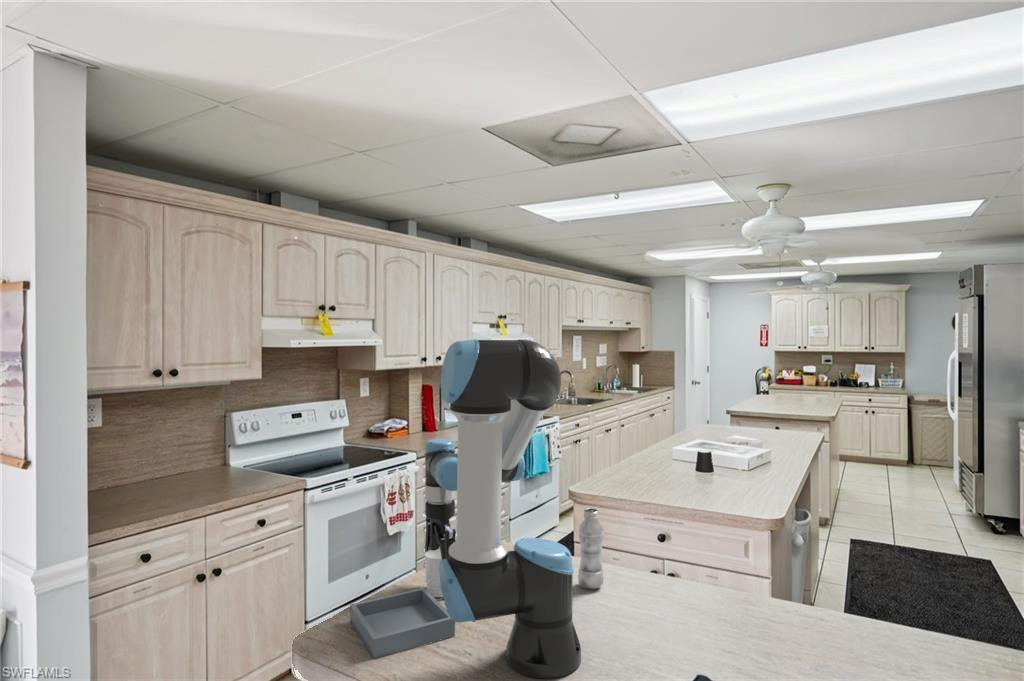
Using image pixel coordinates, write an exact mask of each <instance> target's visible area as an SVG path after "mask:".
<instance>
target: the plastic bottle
mask: <svg viewBox="0 0 1024 681" xmlns="http://www.w3.org/2000/svg"><path fill="white" fill-rule="evenodd" d="M604 535H605V530H604V527H603V525H602V524H601V522H600V521H599V510H598V509H596V508H585V509H583V521H582V522H581V523H580V526H579V527H578V537H579V545H580V547H579V548H580V560H579V569H578V573H577V579H578V583H579V586H580V587H582V588H583V589H587V590H597V589H599V588H601V587H602V586H603V584H604V578H605V576H604V570H603V560H602V551H603V541H604V540H603V539H604Z"/></svg>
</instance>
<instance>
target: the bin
mask: <svg viewBox="0 0 1024 681" xmlns="http://www.w3.org/2000/svg"><path fill="white" fill-rule="evenodd" d="M349 611H350V612H349V616H350V617H349V620H350V621H349V622H350V624H351V625H352V627H353V629H354V630H355V632H356V633H357V635H358V636H359V638H360V640H361V641H362V643H363V644H364V646H365V647H366V649H367V651H368V652H369V654H370V656H371V658H372V659H373V660H376V659H380V658H382V657H386V656H390V655H392V654H393V655H394V654H397V653H401V652H404V651H408V650H411V649H414V647H415V648H418V647H417V646H419V647H421V645H422V646H425V645H424V644H426V645H428V644H427V643H429V644H431V643H430V642H433V643H435V642H434V641H436V642H439V641H438V640H440V639H443V640H446V639H445V638H447V639H449V638H448V637H450V638H452V637H451V636H454V637H456V633H455V632H456V629H455V628H456V622H455V621H453V620H452V619H451V618H450V616H449V614H448V611H447V609H446V607H444V605H443V604H441V603H440V602H439V601H438V600H437V599H436V597H433V596H432V595H431V594H430V593H429V592H428V591H427V588H425V587H420V588H415V589H412V590H407V591H402V592H399V593H395V594H390V595H389V594H388V595H385V596H381V597H377V598H373V599H368V600H364V601H363V600H362V601H359V602H355V603H350V605H349ZM440 641H441V640H440ZM403 650H404V651H403ZM400 651H401V652H400Z"/></svg>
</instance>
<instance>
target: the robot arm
mask: <svg viewBox="0 0 1024 681" xmlns="http://www.w3.org/2000/svg"><path fill="white" fill-rule="evenodd" d="M440 374H441V375H440V387H441V388H440V394H441V398H442V401H443V402H444V403H447V404H449V412H451V414H453V416H455V418H456V420H457V454H456V446H455V442H454V440H452V439H450V438H432V439H429V440H427V441H426V442H425V447H424V448H425V449H424V470H425V473H424V474H425V475H424V476H425V477H424V478H425V481H424V482H425V484H424V500H425V501H426V502H425V506H424V507H425V508H424V510H425V511H424V512H425V513H424V514H425V515H424V516H426V517H425V526H426V528H425V544H424V554H425V553H426V552H427V551H428V550H432V551H435V550H437V549H439V548H440V552H441V558H442V561H440V566H439V575H440V582H441V597H442V598H443V601H444V605H445V609H446V610H447V611H448V614H449V616H450V618H451V619H452V620H453V621H455V623H467V622H473V623H476V622H477V621H481V620H482V621H483V620H487V619H493V618H498V617H499V618H500V617H501V618H502V617H505V616H512V615H514V621H513V625H512V628H511V630H510V634H509V638H508V641H507V644H506V661H507V662H506V663H507V664H508V665H509V666H510V667H511V668H512V669H513V670H514V671H515V672H517V673H518V674H521V675H523V676H526V677H530V678H533V679H545V680H546V679H555V678H561V677H564V676H568V675H570V674H571V673H573V672H574V671H576V670H577V669H578V668H579V667H580V665H581V662H582V648H581V647H582V646H581V643H580V640H579V636H578V633H577V630H576V628H575V624H574V621H573V574H574V569H573V559H572V558H573V556H572V553H571V552H570V549H568V548H567V546H565V545H563V544H561V543H560V542H557V541H554V540H550V539H546V538H537V537H526V538H525V537H524V538H521V539H518V540H517V541H515V543H514V546H513V549H514V550H509V547H508V545H507V544H506V543H505V542H504V541H503V540H502V538H501V536H502V535H501V534H502V531H501V530H502V486H503V484H502V483H511V482H516V481H521V480H522V479H523V477H524V476H525V470H526V462H525V458H524V453H525V451H526V449H527V447H528V446H529V443H530V442H531V439H532V437H533V435H534V433H535V431H536V430H537V427H538V425H539V423H540V421H541V420H542V417H543V415H544V414H545V412H546V411H547V410H549V409H551V408H552V407H553V406H554V404H555V403H556V401H557V399H558V397H559V396H560V395H559V394H560V392H561V389H562V388H561V387H562V374H561V370H560V367H559V364H558V362H557V360H556V358H555V357H554V355H553V354H552V353H551V352H550V350H548V349H547V348H546V347H545V346H544V345H542V344H540V343H538V342H535V341H534V340H529V339H477V338H475V339H468V340H457V341H455V342H453V343H452V344H451V345H449V347H448V348H447V350H446V352H445V355H444V359H443V362H442V368H441V373H440ZM455 494H456V495H455ZM455 496H456V502H455V500H454V499H455ZM455 514H456V529H455V528H453V529H452V528H451V522H450V519H451V518H452V517H454V516H455Z"/></svg>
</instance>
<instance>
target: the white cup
mask: <svg viewBox="0 0 1024 681" xmlns="http://www.w3.org/2000/svg"><path fill="white" fill-rule="evenodd" d="M440 561H442V558H441V552H440V547H439V549H437V550H435V551H432V550H428V551H427V552H426V553H425V552H424V564H425V565H424V566H425V567H424V568H425V569H424V570H425V582H426V590H427V591H428V592H429V593H430V594H431V595H432V596H433V597H434V598H436V597H441V582H440V575H439V566H440Z"/></svg>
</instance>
